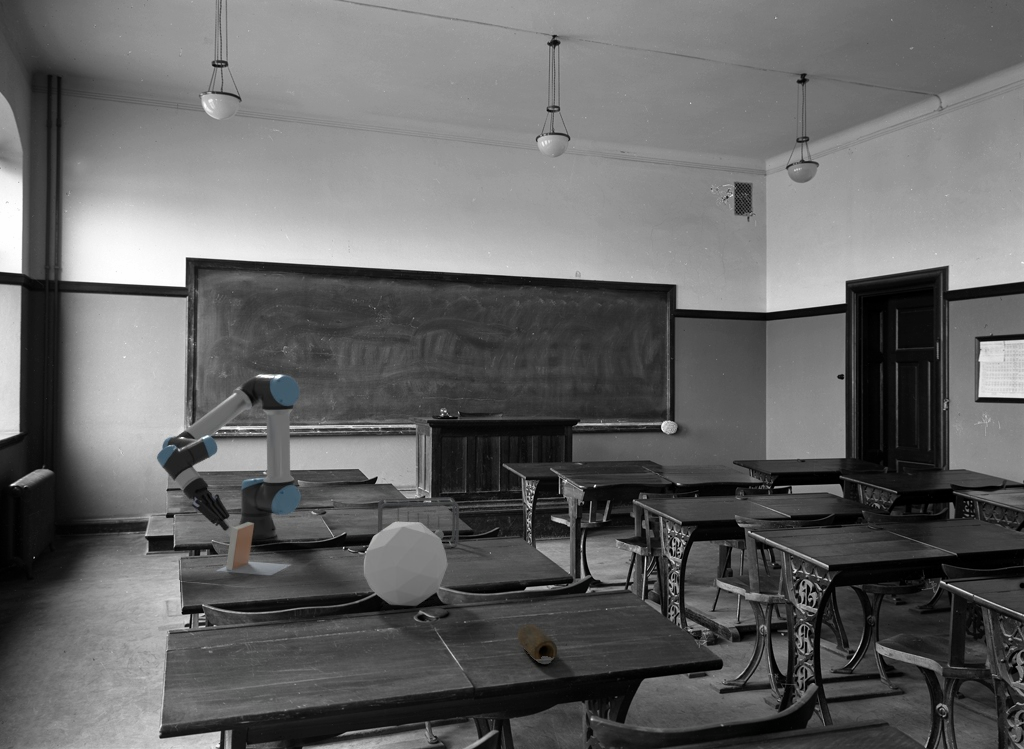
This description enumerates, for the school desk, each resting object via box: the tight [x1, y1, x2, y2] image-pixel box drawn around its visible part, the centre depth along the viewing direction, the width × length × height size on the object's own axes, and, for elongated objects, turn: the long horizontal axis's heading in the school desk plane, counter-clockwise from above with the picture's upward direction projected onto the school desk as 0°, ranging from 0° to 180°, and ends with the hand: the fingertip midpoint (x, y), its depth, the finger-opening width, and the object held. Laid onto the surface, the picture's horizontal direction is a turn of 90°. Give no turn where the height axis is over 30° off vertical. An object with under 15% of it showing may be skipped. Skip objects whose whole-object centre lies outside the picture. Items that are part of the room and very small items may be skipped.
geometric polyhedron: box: [363, 521, 449, 607], centre depth 233 cm, size 24×25×25 cm
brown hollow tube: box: [517, 624, 558, 659], centre depth 193 cm, size 15×7×7 cm, turn 20°
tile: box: [225, 522, 254, 570], centre depth 269 cm, size 2×10×14 cm, turn 168°
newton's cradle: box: [377, 497, 460, 549], centre depth 306 cm, size 30×10×18 cm, turn 102°
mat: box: [215, 561, 292, 577], centre depth 268 cm, size 20×14×1 cm
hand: (235, 535), depth 269 cm, fingers closed
